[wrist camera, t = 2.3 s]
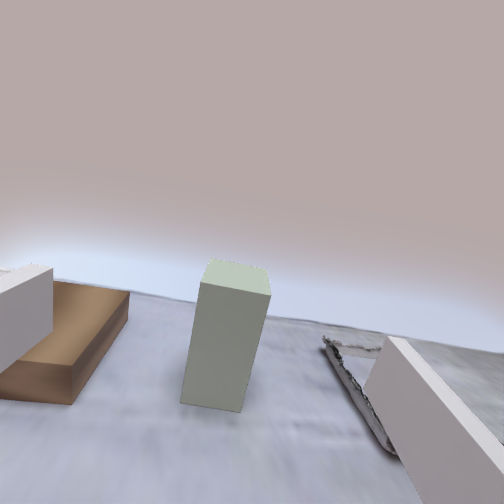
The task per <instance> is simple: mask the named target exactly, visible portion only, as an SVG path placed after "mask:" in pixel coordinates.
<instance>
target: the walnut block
mask: <svg viewBox="0 0 504 504" xmlns="http://www.w3.org/2000/svg"><path fill="white" fill-rule="evenodd" d="M129 296H130V292H127V291H121V290H114V289H107V288H100V287H93V286H87V285H80V284H73V283H66V282H59V281H53V331H52V332H51V333H50V334H49V335H47V336H46V337H45V338H44V339H42V340H41V341H40V342H39V343H37V344H36V345H35V346H34V347H32V348H31V349H30V350H29V351H27V352H26V353H25V354H24V355H23V356H21V357H20V358H19V359H18V360H16V361H15V362H14V363H13V364H11V365H10V366H9V367H8V368H6V369H5V370H4V371H3V372H1V373H0V399H5V400H17V401H29V402H41V403H53V404H65V405H72V404H73V402H74V401H75V399H76V398H77V396H78V395H79V393H80V392H81V390H82V389H83V387H84V386H85V384H86V383H87V381H88V380H89V378H90V377H91V375H92V373H93V372H94V370H95V369H96V367H97V366H98V364H99V363H100V361H101V360H102V358H103V357H104V355H105V354H106V352H107V351H108V349H109V348H110V346H111V344H112V343H113V341H114V340H115V338H116V337H117V335H118V334H119V332H120V331H121V329H122V328H123V326H124V325H125V323H126V322H127V320H128V308H129Z"/></svg>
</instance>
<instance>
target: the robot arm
mask: <svg viewBox="0 0 504 504" xmlns="http://www.w3.org/2000/svg"><path fill="white" fill-rule="evenodd" d="M52 331H53V268H51V267H47V266H41V265H37V264H32V263H31V264H29V265H26V266H24V267H22V268H19V269H17V270H15V271H12V272H10V273H7V274H5V275H3V276H0V373H1V372H3V371H4V370H5V369H6V368H8V367H9V366H10V365H11V364H13V363H14V362H15V361H16V360H18V359H19V358H20V357H21V356H23V355H24V354H25V353H26V352H27V351H29V350H30V349H31V348H32V347H34V346H35V345H36V344H37V343H39V342H40V341H41V340H42V339H44V338H45V337H46V336H47V335H49V334H50V333H51V332H52ZM363 389H364V391H365V393H366V395H367V397H368V399H369V400H370V402H371V404H372V406H373V408H374V410H375V412H376V414H377V416H378V418H379V420H380V421H381V423H382V425H383V427H384V429H385V431H386V433H387V435H388V437H389V439H390V441H391V442H392V444H393V446H394V448H395V450H396V452H397V454H398V456H399V458H400V460H401V462H402V463H403V465H404V467H405V469H406V471H407V473H408V475H409V477H410V479H411V481H412V483H413V484H414V486H415V488H416V490H417V492H418V494H419V496H420V498H421V500H422V502H423V504H504V444H502V443H501V442H500V441H499V440H498V439H497V438H496V437H495V436H494V435H493V434H492V433H491V432H490V431H489V430H488V429H487V428H486V426H485V425H484V424H483V423H482V422H481V421H480V420H479V419H478V418H477V417H476V416H475V415H474V414H473V412H472V411H471V410H470V409H469V408H468V407H467V406H466V405H465V404H464V403H463V402H462V401H461V399H460V398H459V397H458V396H457V395H456V394H455V393H454V392H453V391H452V390H451V389H450V388H449V387H448V385H447V384H446V383H445V382H444V381H443V380H442V379H441V378H440V377H439V376H438V375H437V374H436V372H435V371H434V370H433V369H432V368H431V367H430V366H429V365H428V364H427V363H426V362H425V361H424V360H423V358H422V357H421V356H420V355H419V354H418V353H417V352H416V351H415V350H414V349H413V348H412V347H411V346H410V344H409V343H408V342H407V341H406V340H405V339H401V338H396V337H391V336H387V337H386V339H385V342H384V344H383V346H382V348H381V350H380V353H379V355H378V357H377V359H376V361H375V364H374V366H373V368H372V370H371V372H370V375H369V377H368V379H367V381H366V384H365V386H364V388H363Z"/></svg>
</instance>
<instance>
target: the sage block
mask: <svg viewBox="0 0 504 504" xmlns="http://www.w3.org/2000/svg"><path fill="white" fill-rule="evenodd" d="M270 298H271V291H270V285H269V280H268V273H267V270H266V269H263V268H258V267H253V266H248V265H243V264H238V263H233V262H228V261H223V260H218V259H213V258H211V260H210V262H209V264H208V266H207V268H206V271H205V273H204V275H203V277H202V280H201V282H200V288H199V294H198V300H197V306H196V312H195V317H194V323H193V329H192V335H191V341H190V347H189V353H188V359H187V365H186V371H185V376H184V382H183V388H182V394H181V400H180V403H183V404H189V405H195V406H202V407H208V408H214V409H221V410H227V411H233V412H240V411H241V408H242V404H243V400H244V396H245V393H246V389H247V385H248V381H249V377H250V374H251V370H252V366H253V362H254V359H255V355H256V351H257V347H258V344H259V340H260V336H261V332H262V328H263V325H264V321H265V317H266V313H267V309H268V306H269V302H270Z"/></svg>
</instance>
